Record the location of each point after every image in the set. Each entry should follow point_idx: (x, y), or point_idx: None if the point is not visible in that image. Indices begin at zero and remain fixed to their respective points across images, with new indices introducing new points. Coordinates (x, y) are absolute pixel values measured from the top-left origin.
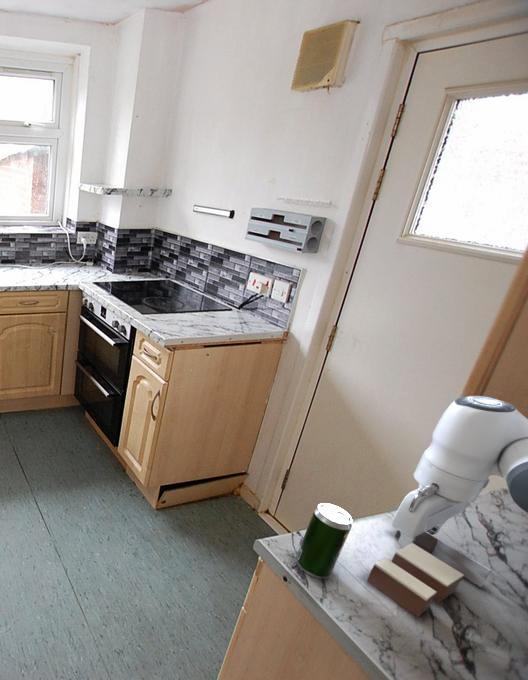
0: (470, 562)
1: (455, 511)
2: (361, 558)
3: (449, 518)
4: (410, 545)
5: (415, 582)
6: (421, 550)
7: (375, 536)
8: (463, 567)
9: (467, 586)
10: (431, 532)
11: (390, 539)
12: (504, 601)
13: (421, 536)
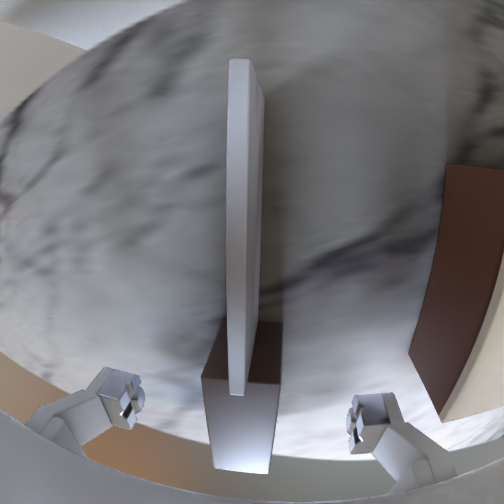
0: (249, 188)
1: (15, 472)
2: None
3: (67, 458)
4: (473, 412)
5: None
6: (478, 383)
7: (347, 435)
8: (257, 199)
9: (332, 135)
10: (136, 386)
11: (312, 417)
12: (257, 17)
13: (275, 424)
